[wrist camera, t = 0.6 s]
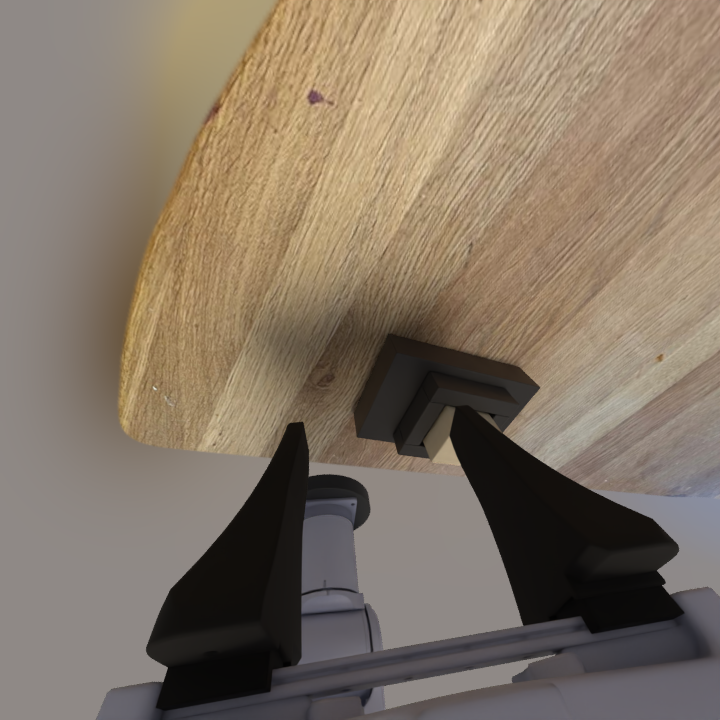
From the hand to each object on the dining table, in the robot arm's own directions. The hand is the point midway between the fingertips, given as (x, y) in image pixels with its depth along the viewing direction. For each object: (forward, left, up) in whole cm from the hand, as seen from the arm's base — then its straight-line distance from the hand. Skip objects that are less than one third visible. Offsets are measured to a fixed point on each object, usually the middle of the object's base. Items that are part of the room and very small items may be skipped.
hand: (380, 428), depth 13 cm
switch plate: (-4, -7, -8) cm, 12 cm away
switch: (-4, -7, -4) cm, 9 cm away
